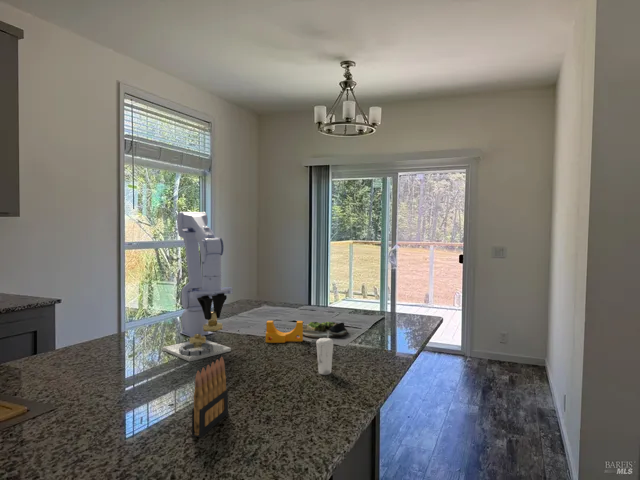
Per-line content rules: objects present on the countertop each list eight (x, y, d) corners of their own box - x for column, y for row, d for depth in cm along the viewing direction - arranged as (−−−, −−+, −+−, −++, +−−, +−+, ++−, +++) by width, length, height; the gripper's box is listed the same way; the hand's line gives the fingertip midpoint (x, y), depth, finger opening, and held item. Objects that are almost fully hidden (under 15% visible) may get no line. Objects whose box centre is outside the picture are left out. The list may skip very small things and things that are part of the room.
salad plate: (295, 341, 145) (295, 327, 145) (290, 328, 163) (290, 316, 163) (351, 339, 148) (351, 325, 148) (340, 327, 166) (340, 315, 166)
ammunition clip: (220, 412, 89) (219, 354, 89) (228, 413, 89) (228, 355, 89) (191, 436, 79) (190, 371, 79) (200, 437, 79) (199, 372, 78)
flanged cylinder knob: (200, 329, 138) (199, 312, 138) (217, 326, 142) (217, 309, 142) (208, 332, 133) (207, 314, 133) (225, 329, 137) (225, 312, 137)
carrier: (162, 350, 134) (162, 337, 133) (202, 341, 144) (202, 329, 144) (189, 361, 123) (189, 347, 122) (230, 351, 133) (230, 338, 133)
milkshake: (336, 370, 115) (336, 332, 115) (330, 376, 110) (330, 337, 110) (320, 368, 117) (320, 331, 117) (313, 374, 112) (313, 336, 112)
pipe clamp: (265, 342, 143) (265, 323, 143) (267, 339, 147) (267, 320, 147) (301, 343, 142) (301, 323, 142) (302, 339, 147) (302, 321, 146)
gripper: (198, 278, 129) (199, 324, 129) (238, 274, 140) (238, 316, 140) (186, 277, 134) (186, 320, 134) (225, 273, 144) (225, 313, 145)
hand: (212, 318), depth 137 cm, fingers closed on flanged cylinder knob, 3 cm apart
